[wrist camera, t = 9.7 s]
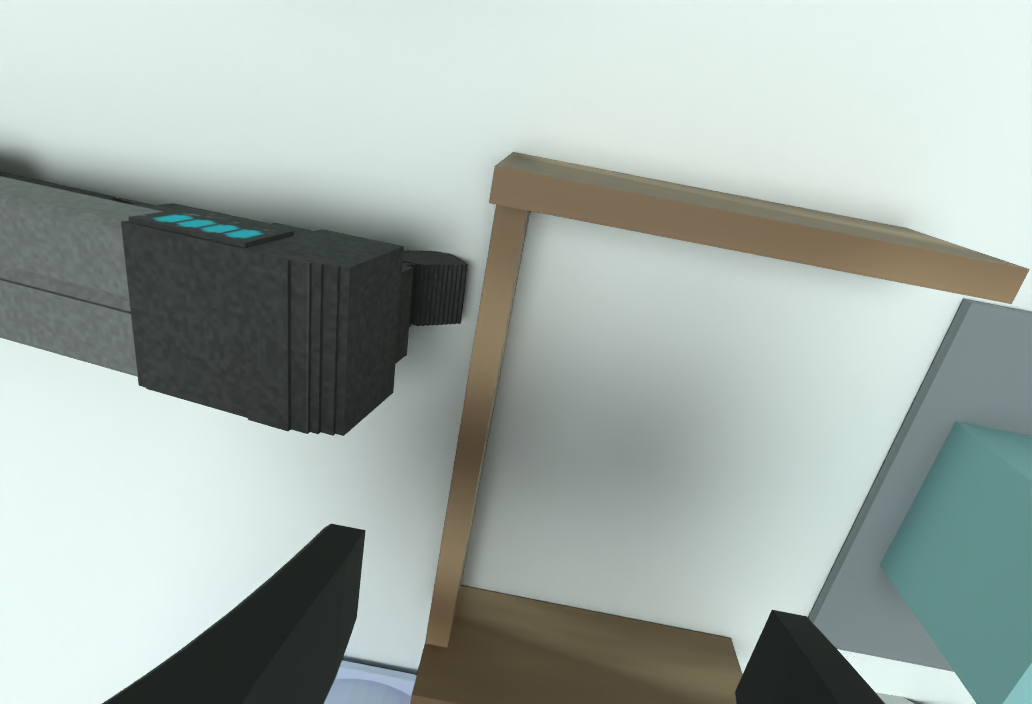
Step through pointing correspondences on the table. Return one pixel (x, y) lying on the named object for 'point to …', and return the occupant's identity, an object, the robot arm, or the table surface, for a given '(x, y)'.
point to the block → (973, 560)
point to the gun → (217, 302)
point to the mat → (939, 403)
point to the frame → (459, 609)
